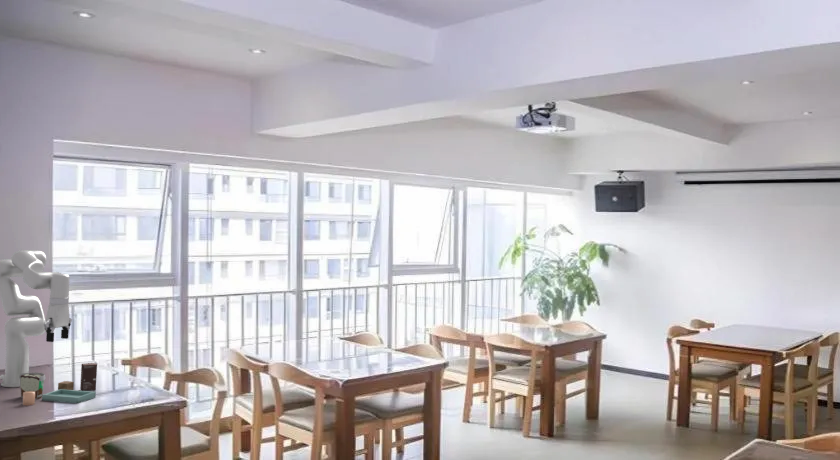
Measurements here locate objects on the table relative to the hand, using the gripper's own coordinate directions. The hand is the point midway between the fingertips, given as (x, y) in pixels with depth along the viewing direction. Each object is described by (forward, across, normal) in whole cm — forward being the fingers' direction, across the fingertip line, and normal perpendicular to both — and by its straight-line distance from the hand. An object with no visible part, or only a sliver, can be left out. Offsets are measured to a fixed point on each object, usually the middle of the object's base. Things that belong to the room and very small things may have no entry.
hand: (57, 340), depth 304 cm
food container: (+25, +5, -6) cm, 26 cm away
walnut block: (+25, -6, +1) cm, 25 cm away
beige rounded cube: (+24, +17, 0) cm, 30 cm away
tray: (+24, +4, +10) cm, 27 cm away
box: (+25, -13, +7) cm, 29 cm away
